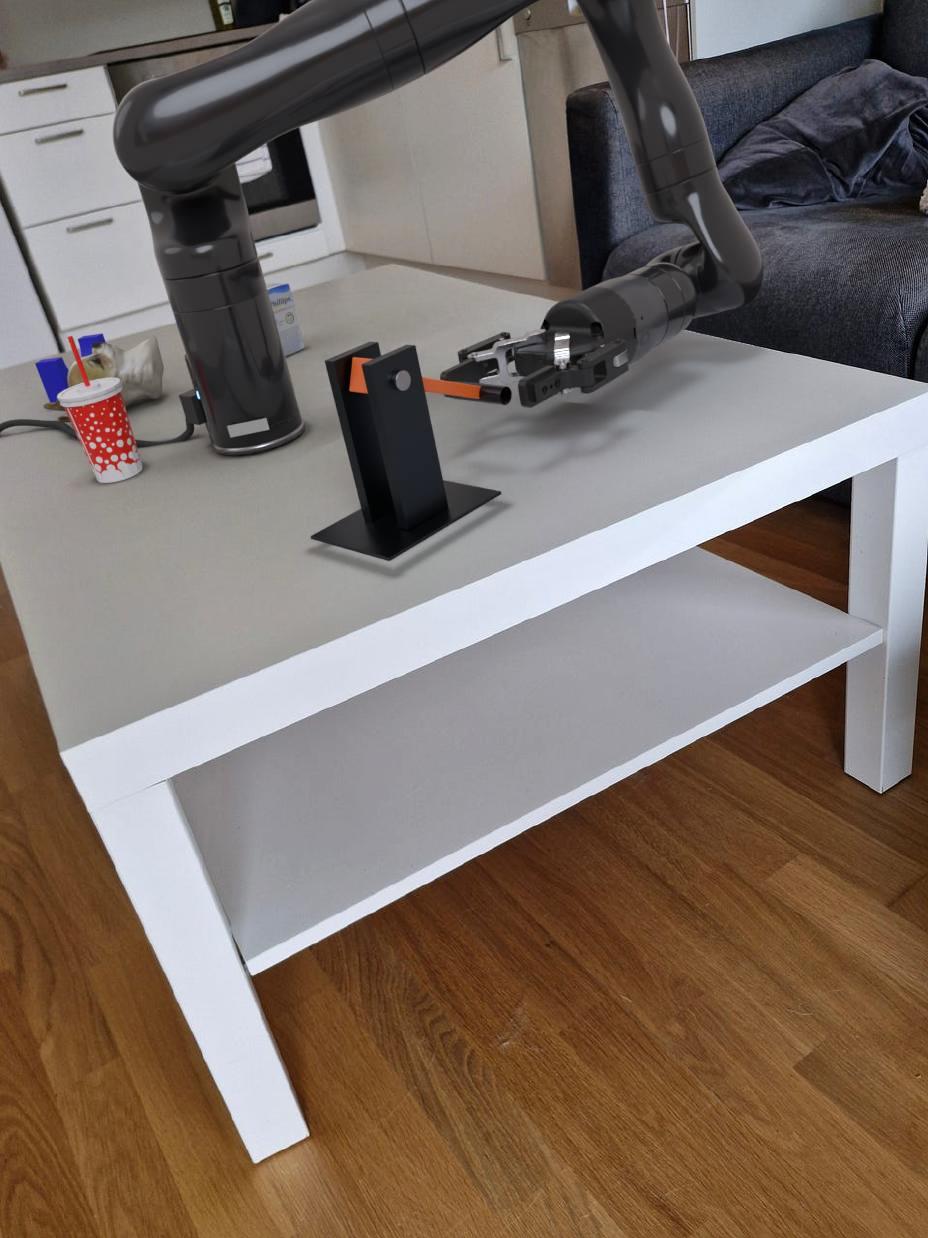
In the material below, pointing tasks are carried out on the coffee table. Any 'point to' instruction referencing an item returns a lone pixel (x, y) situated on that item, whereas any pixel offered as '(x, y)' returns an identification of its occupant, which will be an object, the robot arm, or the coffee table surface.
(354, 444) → the black lever stand
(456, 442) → the coffee table surface
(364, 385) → the clamp lever
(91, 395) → the beverage cup
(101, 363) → the ceramic sculpture
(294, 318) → the medicine box
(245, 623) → the coffee table surface
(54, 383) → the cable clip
